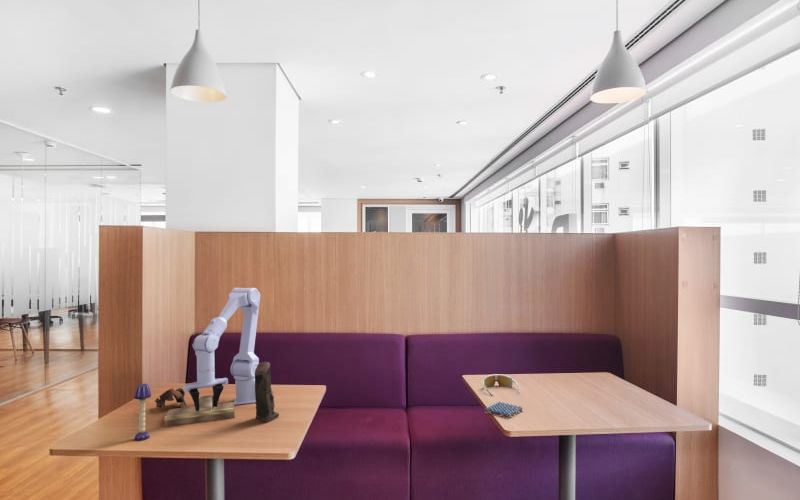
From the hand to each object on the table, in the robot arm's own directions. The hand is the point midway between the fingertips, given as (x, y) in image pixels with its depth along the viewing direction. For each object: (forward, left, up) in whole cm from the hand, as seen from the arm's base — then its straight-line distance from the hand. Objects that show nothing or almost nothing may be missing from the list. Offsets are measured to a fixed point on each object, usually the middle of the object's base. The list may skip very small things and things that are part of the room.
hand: (206, 408), depth 161 cm
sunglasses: (-111, +12, -4) cm, 112 cm away
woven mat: (-98, +34, -4) cm, 104 cm away
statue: (-19, +9, -4) cm, 22 cm away
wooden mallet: (-1, -3, -1) cm, 3 cm away
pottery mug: (+12, -18, -4) cm, 22 cm away
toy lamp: (+18, +11, -4) cm, 21 cm away
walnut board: (+2, -3, -3) cm, 5 cm away
